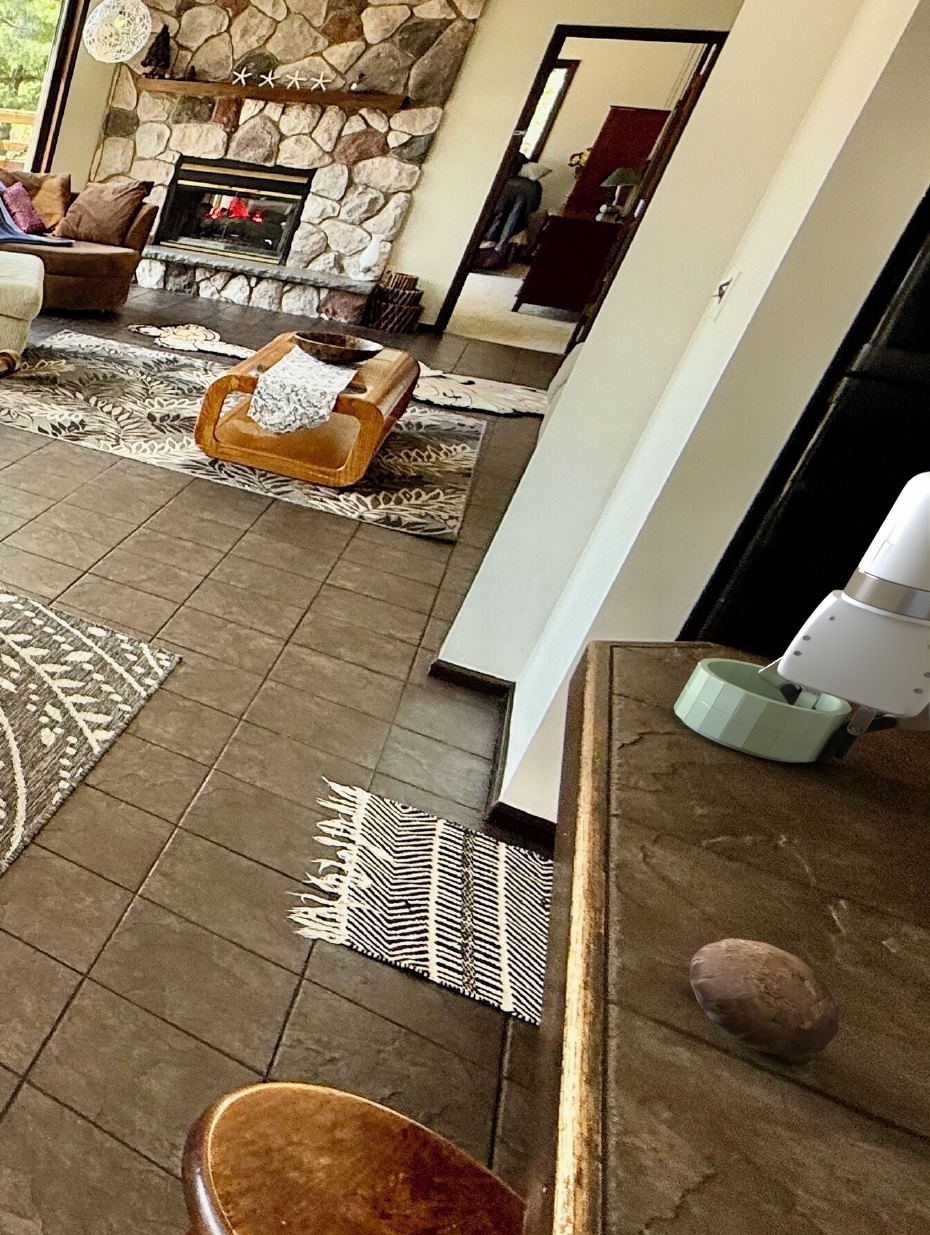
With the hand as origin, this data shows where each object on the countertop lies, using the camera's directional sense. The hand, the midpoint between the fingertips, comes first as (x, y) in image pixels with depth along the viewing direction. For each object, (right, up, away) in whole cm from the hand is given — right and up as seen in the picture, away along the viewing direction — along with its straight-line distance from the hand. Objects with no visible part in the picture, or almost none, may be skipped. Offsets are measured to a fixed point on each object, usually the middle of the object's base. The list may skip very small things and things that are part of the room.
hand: (808, 753), depth 109 cm
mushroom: (-46, -13, -35) cm, 59 cm away
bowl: (-2, +1, +4) cm, 5 cm away
